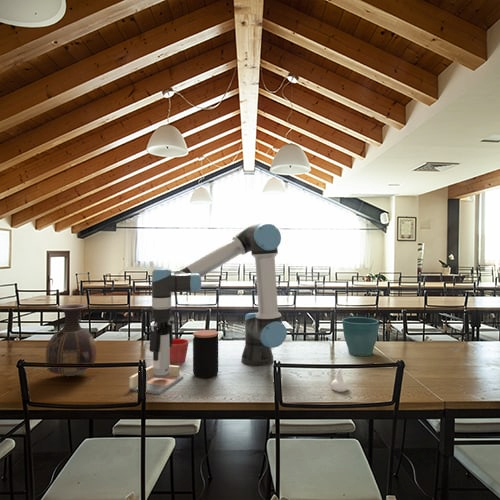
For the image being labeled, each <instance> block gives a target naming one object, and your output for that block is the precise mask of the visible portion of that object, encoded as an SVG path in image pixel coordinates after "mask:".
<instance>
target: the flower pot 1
mask: <svg viewBox="0 0 500 500" xmlns="http://www.w3.org/2000/svg"><path fill="white" fill-rule="evenodd" d="M189 343H190V342H189V340H187V339H185V338H174V339H173V344H171V345H172V347H170V363H169V364H170V365H171V364H172V365H179V364H185V362H186V360H187V353H188V349H189V348H188V347H189Z"/></svg>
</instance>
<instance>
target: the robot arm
mask: <svg viewBox="0 0 500 500" xmlns="http://www.w3.org/2000/svg"><path fill="white" fill-rule="evenodd" d="M281 235H282V234H281V232H280V230H279V228H278V227H276V225H274V224H272V223H267V222H266V223H264V222H263V223H258V224H253V225H250V226H248V227H246V228H244V230H242V231H240V232H239V233H237V234H235V235H234V236H233V237H232V240H230V241H228V242H227V243H225V244H223V245H221V246H219V247H218V248H216V249H215V250H212V251H211V252H210V253H208V254H206V255H204V256H203V257H201V258H199V259H198V260H196V261H194V262H192V263H190V264H189V265H187V266H185V267H183V268H182V269H180V270H179V271H178V270H176V271H174V272H173V273H172V270H171V269H170V268H156V269H153V270H152V274H151V307H152V309H151V318H152V319H154V322H153V325H150V326H149V331H150V332H149V352H151V353H153V354H152V365H153V368H156V369H160V352H159V349H160V343H161V334H162V331H161V332H160V333H158V334H157V330H158V329H161V328H165V327H168V325H170V327H169V364H171V363H170V347H172V345H171V344H173V338H174V337H173V336H174V334H173V325H174V324H173V323H174V320H171V319H170V318H171V317H172V308H171V307H172V293H188V292H189V293H194V292H199V291H200V290H201V288H202V278H203V277H204V276H206V275H208V274H210V273H211V272H213V271H215V270H216V269H218V268H220V267H222V266H223V265H224V264H227V263H228V262H230V261H232V260H233V259H235V258H237V257H238V256H240V255H243V256H244V255H246V254H247V253H249V252H251V256H252V257H253V258H254V259H255V260H254V261H255V274H256V275H255V277H256V289H257V307H258V308H257V309H258V311H257V312H249V313H246V314H245V315H244V316H245V317H244V318H245V320H244V328H245V329H244V333H245V337H244V338H245V339H244V340H245V341H244V342H245V343H244V348H243V352H242V355H241V362H242V363H243V364H245V365H250V366H267V365H271V364H273V362H274V353H273V352H272V348H273V349H274V348H278V347H280V346H281V345H282V344H283V343H284V342H285V341H286V339H287V336H288V335H287V334H288V330H287V327H286V326H285V324H284V323H283V319H282V318H283V316H282V314H281V312H280V311H279V310H278V309H279V308H278V306H279V305H278V293H277V289H278V288H277V278H276V277H277V275H276V273H277V272H276V259H275V258H276V256H277V255H278V254H279V253H278V251H279V250H278V249H279V248H278V247H279V246H280V245H281V241H282V236H281Z"/></svg>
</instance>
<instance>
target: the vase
mask: <svg viewBox="0 0 500 500" xmlns="http://www.w3.org/2000/svg"><path fill="white" fill-rule="evenodd" d="M86 308H88V304H84V303H69V304H62V305H57V306H56V309H58V310H61V311H62V312H64V314H63V315H64V325H63V327H62V329H59V330H58V331H56V332H55V333H54V334H53V335H52V337H51V338H50V340H49V341H48V343H47V345H46V349H45V355H44V360H45V364H46V363H77V364H85V363H94V364H95V362H96V360H97V345H96V342H95V339H94V337H93V335H92V334H91V332H90V331H88V330H87V329H86V328H83V327H81V324H80V314H81V311H83V310H84V309H86ZM46 369H47V370H48V371H49V372H50V373H52V374H57V375H62V376H67V377H69V376H73V377H74V376H77V375H83V374H84V372H85V371H86V370H87V369H89V368H47V367H46Z"/></svg>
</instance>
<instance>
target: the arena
mask: <svg viewBox="0 0 500 500" xmlns="http://www.w3.org/2000/svg"><path fill="white" fill-rule="evenodd" d="M180 367H181V366H180V365H175V364H172V365H171V364H169V376H167V377H164V378H156V377H154V376H153V364H152V365H150V366H148V367H146V368H145V369H146V371H147V394H154V395H161V394H163V393H164V392H165V391H167V390H169V389H170V388H172V387H173V386H174V385H175V384H177V383H179V382H180V381H182V380H183V379H184V375H181V373H180V371H181V370H180ZM137 389H138V372H137V373H135V374H132V375H131V376H129V391H131V390H134V391H133V392H138V391H137Z"/></svg>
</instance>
